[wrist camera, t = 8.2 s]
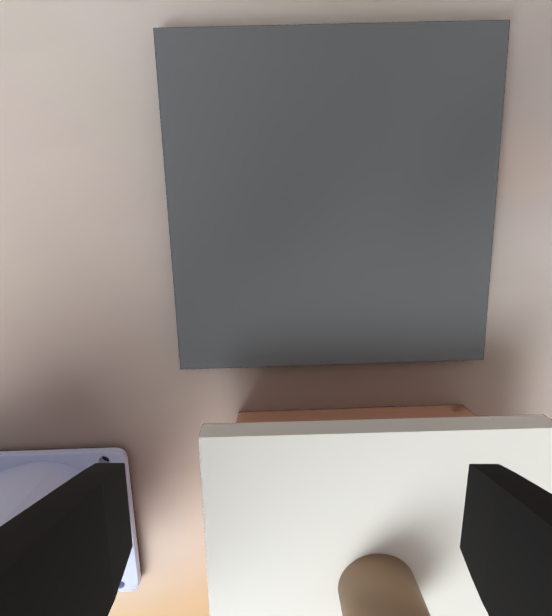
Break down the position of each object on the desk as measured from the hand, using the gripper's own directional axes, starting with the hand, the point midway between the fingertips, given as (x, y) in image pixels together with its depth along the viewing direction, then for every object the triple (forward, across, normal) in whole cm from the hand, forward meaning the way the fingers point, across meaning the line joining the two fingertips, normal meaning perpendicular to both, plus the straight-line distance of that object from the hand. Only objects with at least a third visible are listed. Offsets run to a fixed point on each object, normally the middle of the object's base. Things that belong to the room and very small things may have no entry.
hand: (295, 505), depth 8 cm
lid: (+6, -3, +8) cm, 11 cm away
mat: (+11, -2, -6) cm, 13 cm away
